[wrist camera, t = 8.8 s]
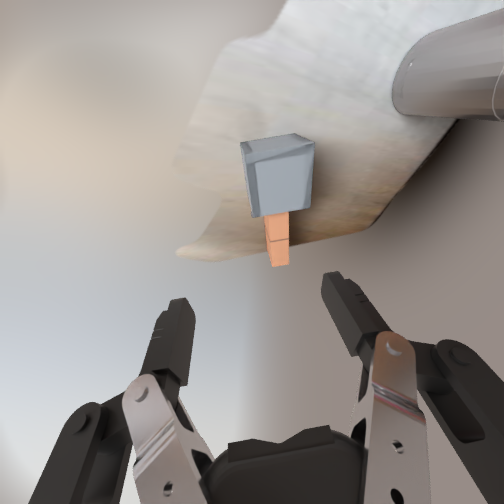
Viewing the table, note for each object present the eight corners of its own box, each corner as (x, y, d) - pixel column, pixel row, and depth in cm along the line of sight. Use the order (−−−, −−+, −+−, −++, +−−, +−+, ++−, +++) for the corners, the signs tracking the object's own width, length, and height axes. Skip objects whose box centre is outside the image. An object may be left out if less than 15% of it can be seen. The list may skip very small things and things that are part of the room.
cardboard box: (280, 184, 36) (288, 197, 31) (282, 247, 45) (289, 264, 40) (261, 188, 36) (266, 201, 31) (267, 249, 45) (272, 267, 40)
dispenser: (295, 133, 31) (316, 142, 24) (294, 190, 37) (311, 210, 30) (238, 142, 31) (243, 154, 24) (247, 198, 37) (252, 221, 30)
